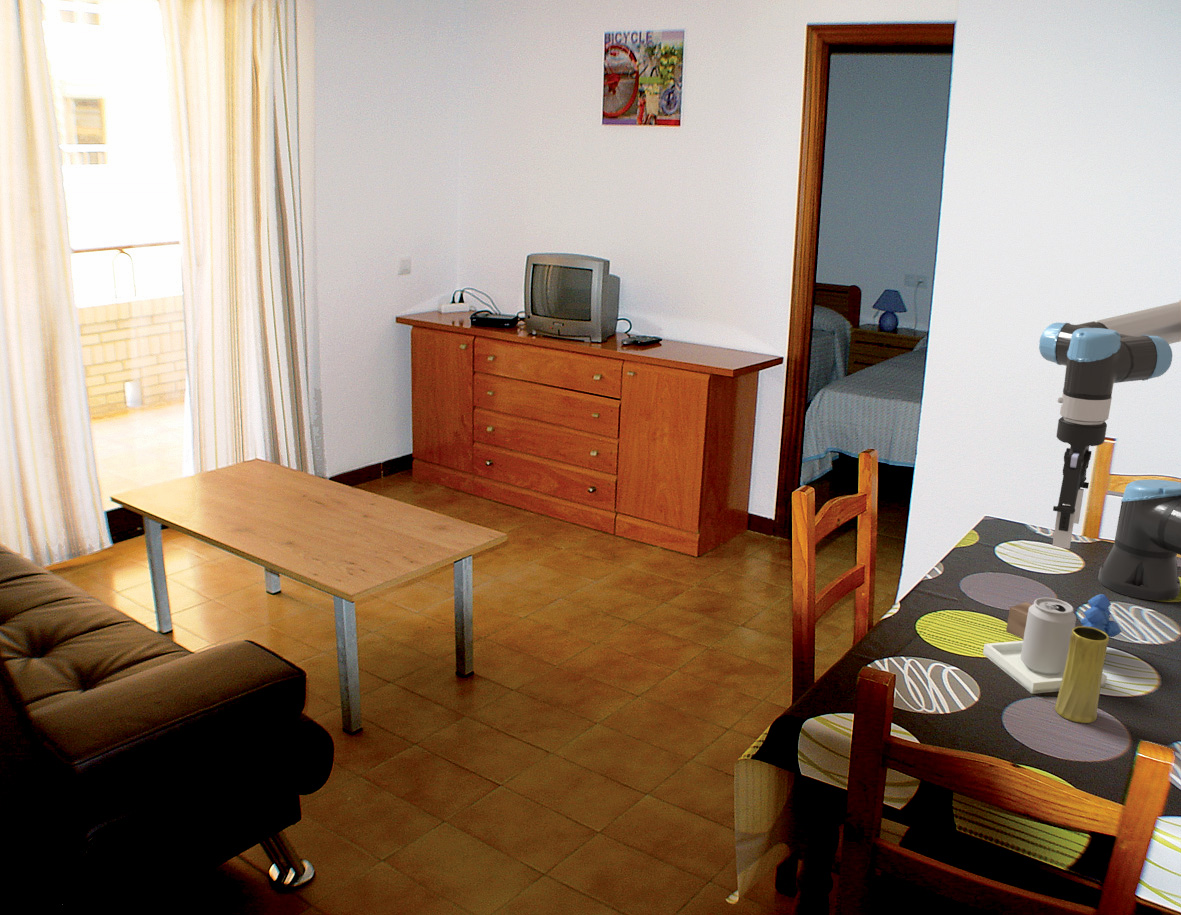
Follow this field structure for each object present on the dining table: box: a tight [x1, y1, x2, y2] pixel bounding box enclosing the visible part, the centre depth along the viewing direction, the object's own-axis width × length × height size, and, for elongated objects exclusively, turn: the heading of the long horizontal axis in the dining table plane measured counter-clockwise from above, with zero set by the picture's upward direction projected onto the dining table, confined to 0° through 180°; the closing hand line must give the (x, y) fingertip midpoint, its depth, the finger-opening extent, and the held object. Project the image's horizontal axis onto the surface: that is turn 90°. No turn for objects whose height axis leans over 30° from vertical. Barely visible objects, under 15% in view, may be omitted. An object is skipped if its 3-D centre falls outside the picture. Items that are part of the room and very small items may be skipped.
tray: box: [982, 640, 1108, 695], centre depth 170 cm, size 14×14×2 cm
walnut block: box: [1005, 601, 1033, 640], centre depth 183 cm, size 5×5×5 cm
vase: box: [1054, 625, 1110, 724], centre depth 155 cm, size 6×6×14 cm
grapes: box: [1079, 593, 1123, 638], centre depth 174 cm, size 12×7×12 cm, turn 143°
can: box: [1020, 596, 1077, 675], centre depth 168 cm, size 8×8×12 cm
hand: (1065, 534), depth 174 cm, fingers open, 13 cm apart
